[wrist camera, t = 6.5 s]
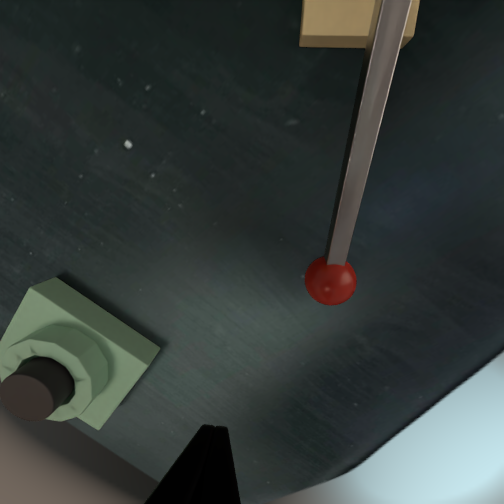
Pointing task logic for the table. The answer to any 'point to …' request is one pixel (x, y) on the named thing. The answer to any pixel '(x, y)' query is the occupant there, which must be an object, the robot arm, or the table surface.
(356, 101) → the switch lever
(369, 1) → the switch bracket
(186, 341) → the table surface
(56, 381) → the push button
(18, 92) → the table surface
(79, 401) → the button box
